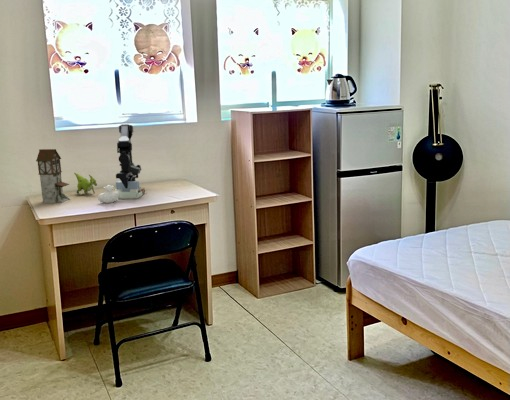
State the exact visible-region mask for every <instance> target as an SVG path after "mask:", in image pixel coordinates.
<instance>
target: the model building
mask: <svg viewBox="0 0 510 400" xmlns="http://www.w3.org/2000/svg"><path fill="white" fill-rule="evenodd" d="M61 159H62V158H61V156H60V154H59V153H58V151H57V149H56V148H54V149H53V148H47V149H45V148H43V149H41V148H40V149H38V154H37V157H36V160H35V161H36V162H37V169H38V175H39V178H40V179H39V181H40V189H41V197H42V203H48V204H49V203H50V204H51V203H52V204H53V203H54V204H55V203H64V202H66V201H70V199H71V198H70V197H68V196H67V195H66V194H65V193H64V190H63V187H68V186H69V185H70V183H67V182H64V181H62V172H63V171H62V166H61V165H62V164H61Z"/></svg>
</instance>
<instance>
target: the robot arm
mask: <svg viewBox="0 0 510 400" xmlns="http://www.w3.org/2000/svg"><path fill="white" fill-rule="evenodd" d="M118 133H119V134H120V137H119V138H118V141H117V143H116V144H117V147H116V151H117V154H119V156H118V162H119V166H120V171H119V172H117V173H116V174H115V179H119V181H121V182H122V183H123V185H124V187H125V188H126V189H127V188H128V181H137V180H136V179H139V174H140V173H141V171H142V167H141V164H137V165H135V163H134V162H133V156H132V155H133V153H132V152H133V143H132V141H131V140H132V139H131V138H132V137H133V135H134V126H133V125H131V124H129V123H123V124H120V125H119V126H118Z"/></svg>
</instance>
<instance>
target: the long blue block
mask: <svg viewBox="0 0 510 400" xmlns="http://www.w3.org/2000/svg"><path fill="white" fill-rule="evenodd" d="M140 188H141V187H140V181H139V180H136V181H128V188H127V189H126V188H125V187H124V185H123V183H122V182H121V180H117V181H116V182H115V189H122V192H130V189H138V191H139V190H140Z"/></svg>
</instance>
